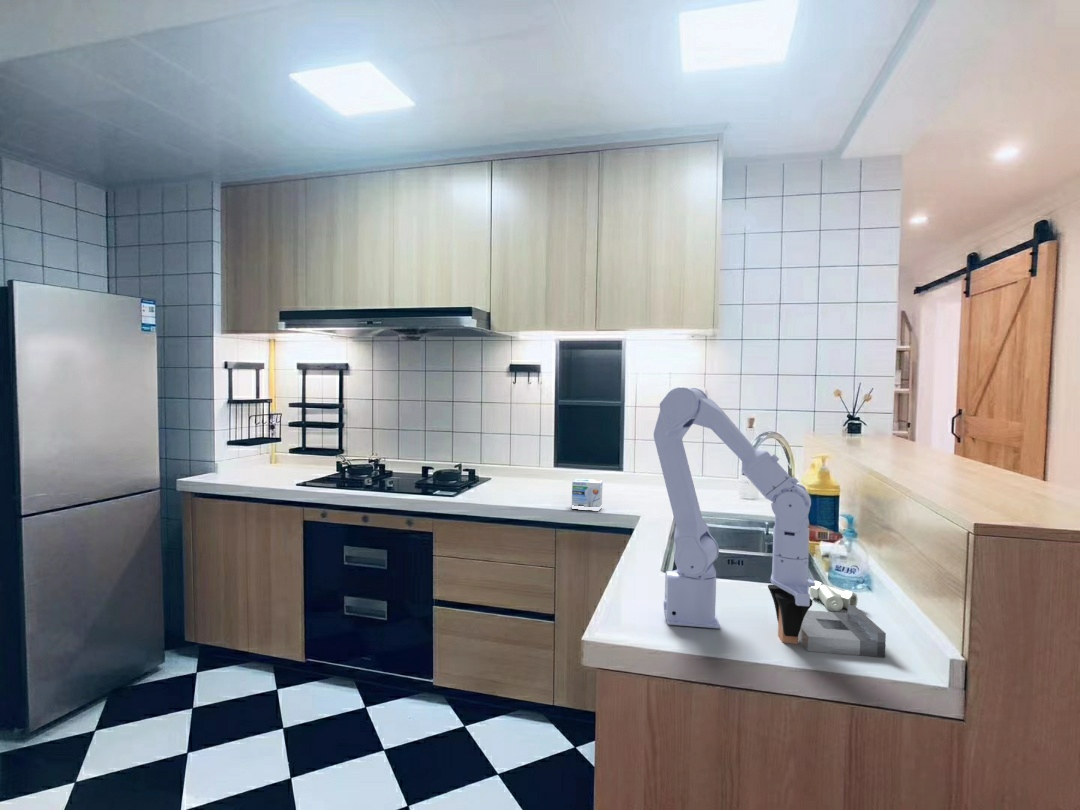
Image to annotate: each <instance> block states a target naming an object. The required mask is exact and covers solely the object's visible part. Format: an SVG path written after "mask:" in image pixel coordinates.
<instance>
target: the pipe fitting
mask: <svg viewBox="0 0 1080 810" xmlns="http://www.w3.org/2000/svg"><path fill="white" fill-rule="evenodd" d="M813 581H814V582H815V586H814V587H810V588H809V589H810V590H809V592H810V594H809V595H810V598H811V597H812V598H813V599H816V600H819V601H821V602H822V604H823V605H824V606H825V607H826V609H827V610H828V612H840V611H842V609H846V610H848V605H852V606H856V607H857V605H858V594H857V593H855V592H853V591H850V590H846V589H845V590H844V589H841V588H838V587H835V586H831V585H828V584H825V583H823V582H820V581H818V580H813Z"/></svg>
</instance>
